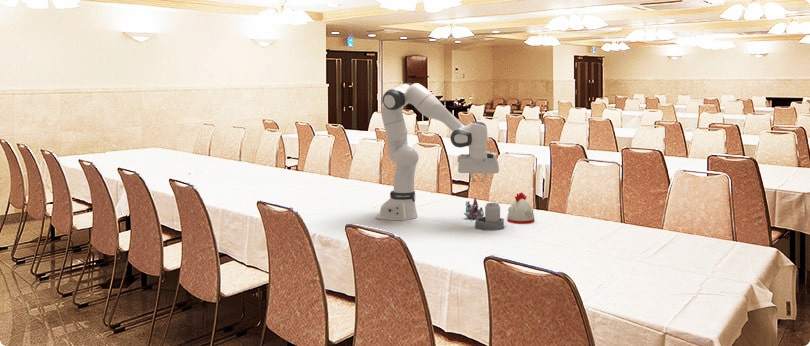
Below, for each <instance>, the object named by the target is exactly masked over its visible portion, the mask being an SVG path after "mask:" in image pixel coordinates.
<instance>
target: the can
mask: <svg viewBox="0 0 810 346" xmlns="http://www.w3.org/2000/svg"><path fill="white" fill-rule="evenodd" d="M484 217H485V222H499V221H500V218H501V206H500V203H498V202H487V203H486V205H485V206H484Z"/></svg>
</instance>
